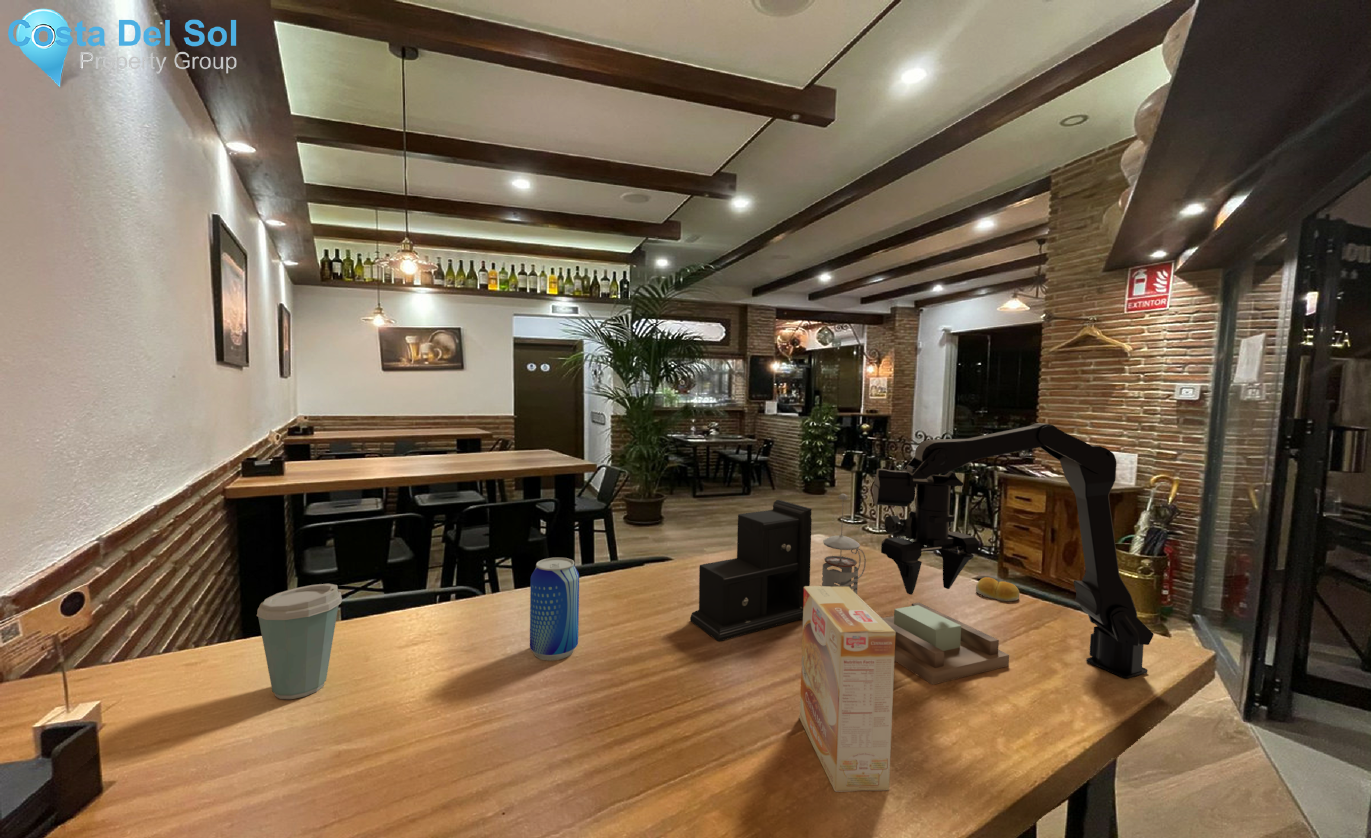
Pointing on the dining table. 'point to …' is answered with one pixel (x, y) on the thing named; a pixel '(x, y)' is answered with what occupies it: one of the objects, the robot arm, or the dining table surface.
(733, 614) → the black drawer cabinet
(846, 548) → the french press
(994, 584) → the bread roll
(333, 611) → the disposable coffee cup
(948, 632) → the pale green block
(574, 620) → the beer can
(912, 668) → the brown wooden stand
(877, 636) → the coffeecake box
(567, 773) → the dining table surface
